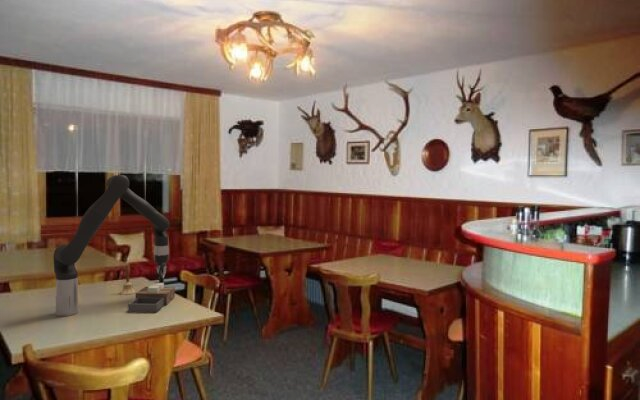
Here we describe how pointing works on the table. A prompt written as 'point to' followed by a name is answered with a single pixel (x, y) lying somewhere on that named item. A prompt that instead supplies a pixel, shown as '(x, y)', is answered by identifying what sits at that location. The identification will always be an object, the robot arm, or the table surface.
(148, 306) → the box
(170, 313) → the table surface
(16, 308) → the table surface
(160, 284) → the tile far
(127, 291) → the hand bell
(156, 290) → the tile near
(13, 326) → the table surface
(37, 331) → the table surface
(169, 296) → the drawer box
